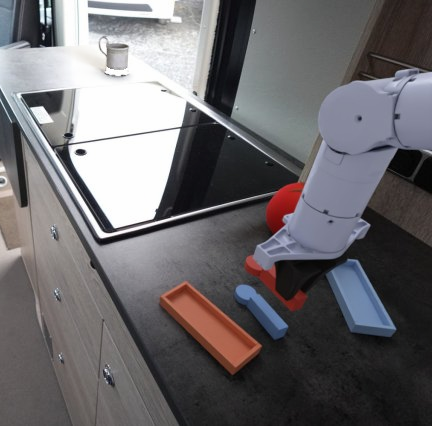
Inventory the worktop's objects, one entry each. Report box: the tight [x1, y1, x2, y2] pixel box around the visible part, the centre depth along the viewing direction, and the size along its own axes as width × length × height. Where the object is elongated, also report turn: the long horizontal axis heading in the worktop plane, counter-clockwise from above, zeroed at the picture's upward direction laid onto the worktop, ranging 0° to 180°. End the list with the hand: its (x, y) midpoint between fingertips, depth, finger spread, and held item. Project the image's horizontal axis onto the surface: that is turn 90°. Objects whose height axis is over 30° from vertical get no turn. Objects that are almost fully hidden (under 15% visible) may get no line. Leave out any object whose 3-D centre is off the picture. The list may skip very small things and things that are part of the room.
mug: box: [98, 35, 130, 70], centre depth 142 cm, size 14×10×12 cm
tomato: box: [265, 180, 306, 235], centre depth 64 cm, size 11×12×10 cm
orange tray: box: [158, 280, 263, 376], centre depth 51 cm, size 14×5×2 cm, turn 36°
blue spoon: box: [233, 284, 289, 341], centre depth 53 cm, size 9×3×2 cm, turn 21°
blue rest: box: [325, 258, 397, 338], centre depth 56 cm, size 14×5×2 cm, turn 172°
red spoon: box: [243, 254, 308, 312], centre depth 48 cm, size 9×3×2 cm, turn 23°
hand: (289, 291), depth 46 cm, fingers closed on red spoon, 1 cm apart
